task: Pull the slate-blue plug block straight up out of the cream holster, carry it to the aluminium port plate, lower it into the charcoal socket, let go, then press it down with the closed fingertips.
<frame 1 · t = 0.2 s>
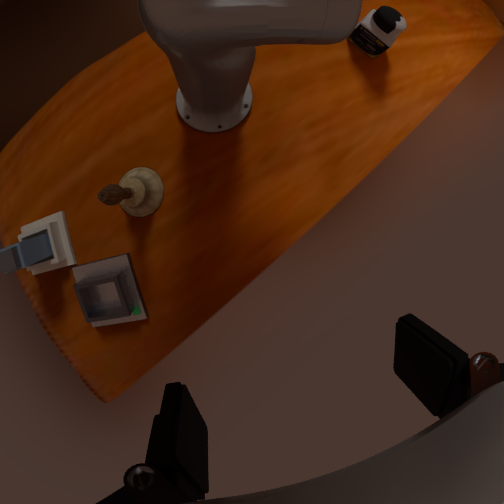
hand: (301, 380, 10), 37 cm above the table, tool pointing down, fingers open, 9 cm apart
medicine bottle: (365, 41, 40), on the table
hand bell: (140, 191, 42), on the table
holster: (47, 244, 41), on the table
port: (110, 290, 45), on the table
plug: (45, 245, 41), point 1 cm above the table, touching holster
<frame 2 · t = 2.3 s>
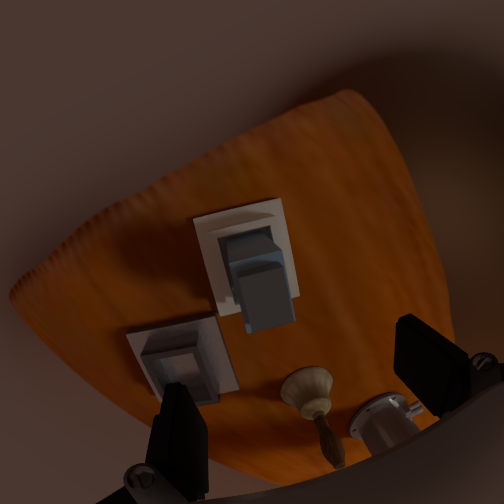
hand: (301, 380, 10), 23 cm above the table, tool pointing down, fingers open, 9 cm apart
hand bell: (306, 386, 38), on the table
holster: (248, 258, 32), on the table
port: (184, 359, 34), on the table
plug: (249, 259, 31), point 1 cm above the table, touching holster
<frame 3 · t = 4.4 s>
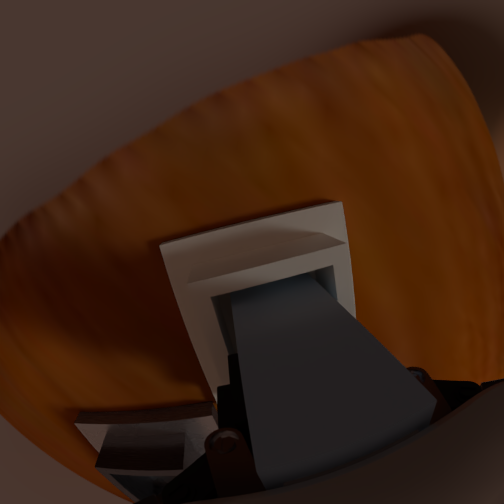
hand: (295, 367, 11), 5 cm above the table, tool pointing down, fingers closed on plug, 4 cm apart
holster: (273, 318, 16), on the table
port: (168, 453, 18), on the table
plug: (276, 324, 15), point 1 cm above the table, touching gripper, holster
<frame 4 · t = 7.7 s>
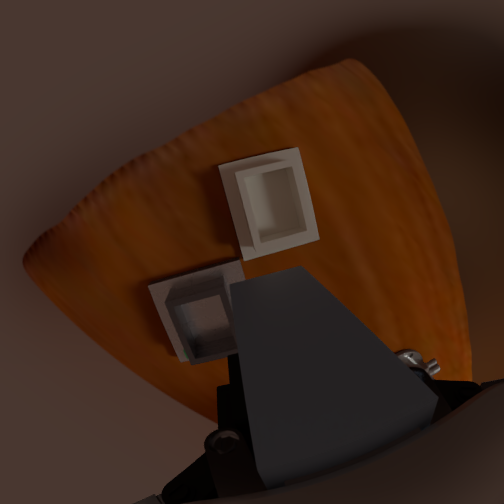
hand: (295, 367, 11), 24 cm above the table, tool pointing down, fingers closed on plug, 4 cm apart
holster: (270, 202, 34), on the table
port: (207, 311, 36), on the table
plug: (276, 323, 15), point 20 cm above the table, touching gripper
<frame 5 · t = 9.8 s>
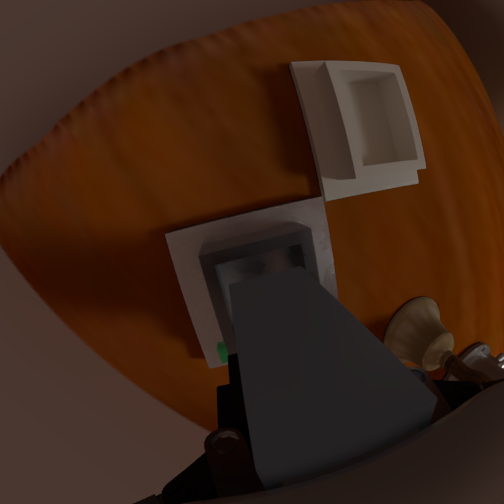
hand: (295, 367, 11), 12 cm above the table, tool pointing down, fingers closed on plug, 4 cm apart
hand bell: (411, 329, 26), on the table
holster: (359, 124, 20), on the table
port: (259, 284, 22), on the table
plug: (275, 323, 15), point 7 cm above the table, touching gripper
when the fingers open (7 cm above the table, at t = 11.2 s): plug stays where it is, resting on port.
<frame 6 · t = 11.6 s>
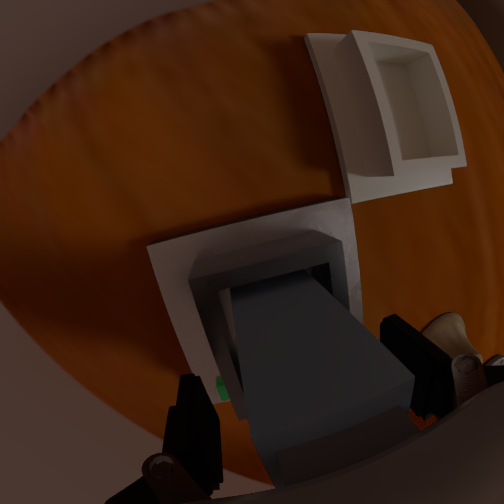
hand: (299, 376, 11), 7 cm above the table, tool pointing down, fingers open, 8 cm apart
hand bell: (435, 348, 22), on the table
holster: (387, 110, 16), on the table
port: (268, 306, 18), on the table
plug: (273, 316, 16), point 1 cm above the table, touching port
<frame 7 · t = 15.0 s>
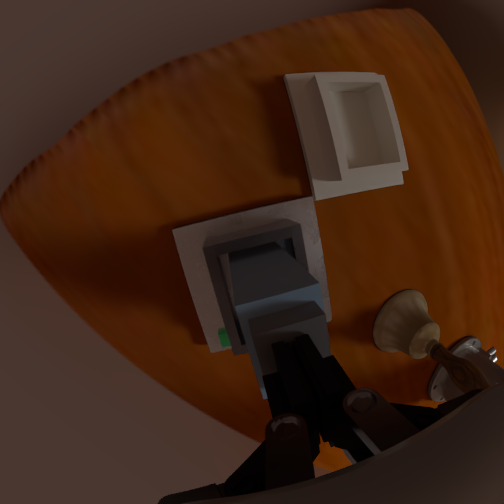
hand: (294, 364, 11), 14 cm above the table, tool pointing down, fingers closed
hand bell: (400, 320, 29), on the table
holster: (347, 130, 23), on the table
port: (256, 275, 25), on the table
plug: (259, 280, 24), point 1 cm above the table, touching gripper, port
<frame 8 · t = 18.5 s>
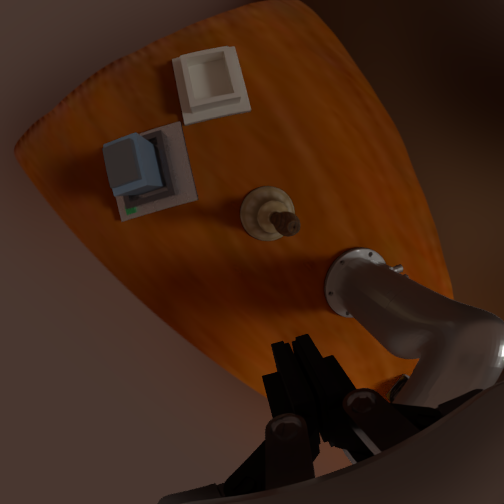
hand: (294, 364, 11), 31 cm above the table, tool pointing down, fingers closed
medicine bottle: (401, 386, 54), on the table
hand bell: (267, 213, 41), on the table
holster: (210, 84, 36), on the table
port: (151, 171, 38), on the table
plug: (149, 170, 36), point 1 cm above the table, touching port
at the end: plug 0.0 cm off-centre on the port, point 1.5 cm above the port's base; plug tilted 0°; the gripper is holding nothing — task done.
